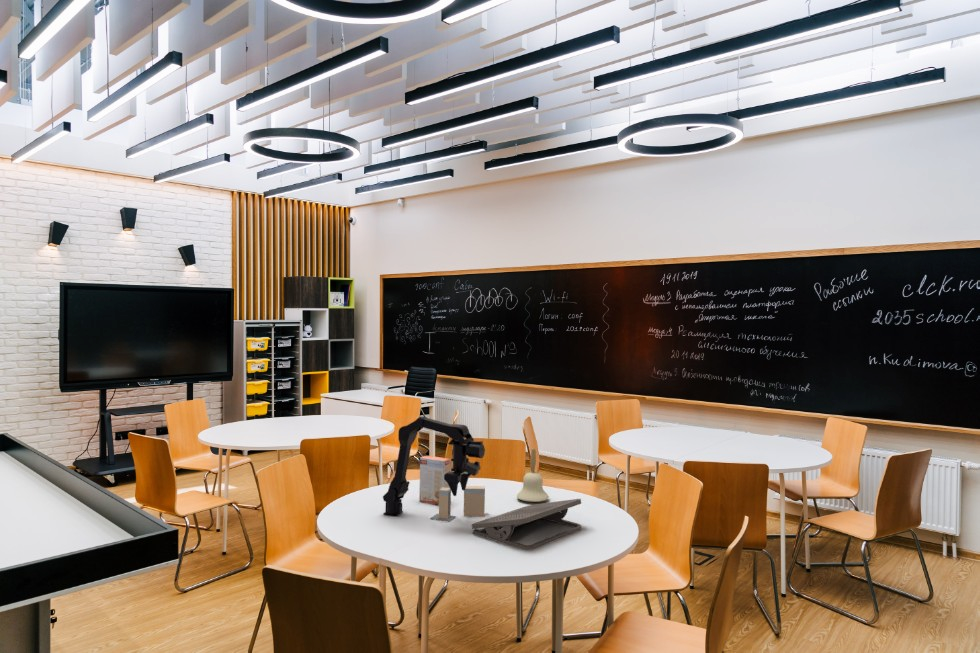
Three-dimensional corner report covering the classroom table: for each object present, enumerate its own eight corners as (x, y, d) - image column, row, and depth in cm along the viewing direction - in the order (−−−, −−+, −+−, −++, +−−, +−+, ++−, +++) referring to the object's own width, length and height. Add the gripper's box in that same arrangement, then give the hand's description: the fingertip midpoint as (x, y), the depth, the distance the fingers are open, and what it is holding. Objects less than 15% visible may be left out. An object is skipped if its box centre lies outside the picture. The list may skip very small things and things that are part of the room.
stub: (438, 518, 270) (439, 490, 270) (441, 514, 275) (441, 487, 275) (447, 518, 270) (448, 490, 270) (450, 515, 274) (451, 488, 274)
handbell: (521, 505, 292) (522, 451, 292) (512, 496, 307) (513, 445, 307) (553, 503, 296) (554, 450, 296) (542, 495, 311) (543, 444, 311)
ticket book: (463, 516, 275) (464, 488, 275) (463, 513, 280) (464, 485, 279) (484, 516, 275) (484, 488, 275) (484, 513, 280) (484, 486, 280)
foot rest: (529, 513, 282) (529, 485, 282) (586, 529, 262) (586, 498, 262) (468, 534, 253) (468, 502, 253) (526, 553, 233) (527, 519, 233)
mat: (430, 519, 270) (430, 518, 270) (437, 514, 277) (437, 513, 277) (449, 521, 267) (449, 520, 267) (455, 517, 274) (455, 516, 274)
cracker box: (450, 503, 294) (451, 458, 294) (442, 506, 289) (443, 460, 289) (426, 498, 302) (427, 454, 302) (418, 501, 297) (419, 456, 296)
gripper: (469, 462, 252) (468, 501, 252) (485, 453, 270) (485, 489, 270) (443, 459, 256) (443, 498, 256) (461, 451, 274) (461, 487, 274)
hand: (459, 493), depth 264 cm, fingers open, 9 cm apart
